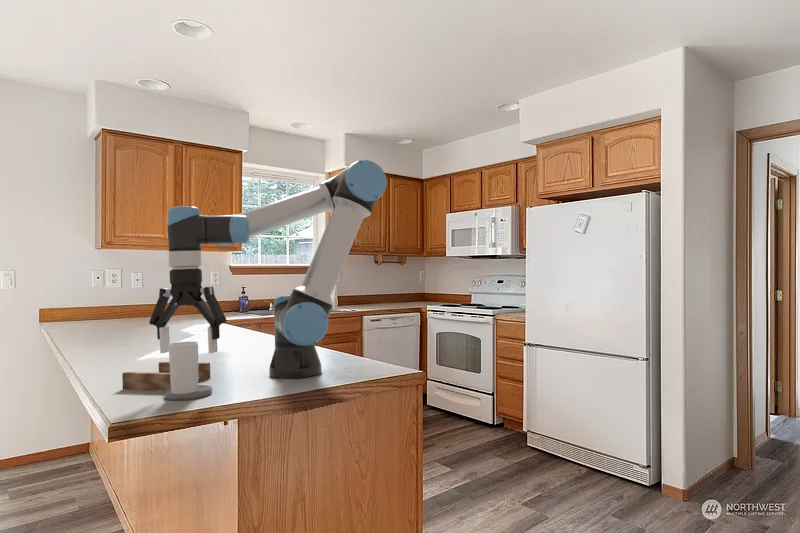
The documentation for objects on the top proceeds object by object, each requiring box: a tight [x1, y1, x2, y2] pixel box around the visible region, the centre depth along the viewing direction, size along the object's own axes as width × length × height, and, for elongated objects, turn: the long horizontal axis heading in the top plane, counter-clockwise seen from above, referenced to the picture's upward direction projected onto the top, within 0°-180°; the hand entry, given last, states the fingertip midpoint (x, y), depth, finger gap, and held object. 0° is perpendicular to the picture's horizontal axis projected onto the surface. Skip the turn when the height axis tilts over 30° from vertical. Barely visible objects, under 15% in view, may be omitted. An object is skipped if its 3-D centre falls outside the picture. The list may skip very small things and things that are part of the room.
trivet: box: [164, 384, 213, 402], centre depth 129 cm, size 11×11×1 cm
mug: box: [168, 341, 199, 395], centre depth 129 cm, size 10×7×12 cm, turn 5°
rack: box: [121, 361, 211, 392], centre depth 142 cm, size 16×16×4 cm
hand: (188, 352), depth 129 cm, fingers open, 13 cm apart
